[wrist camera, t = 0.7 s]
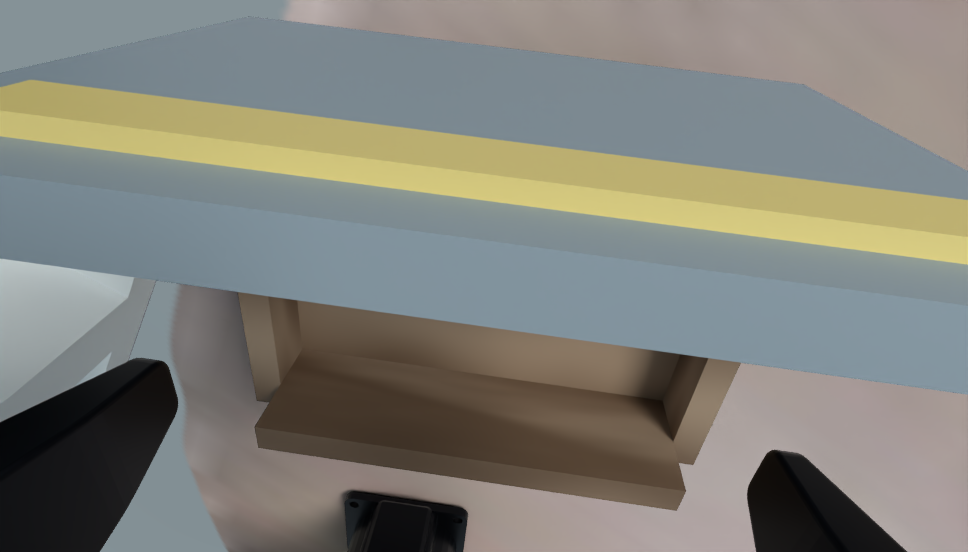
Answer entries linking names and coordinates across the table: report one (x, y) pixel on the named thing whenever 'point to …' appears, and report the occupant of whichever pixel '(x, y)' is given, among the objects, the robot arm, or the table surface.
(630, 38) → the table surface
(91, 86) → the panel
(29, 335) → the cable organizer
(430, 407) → the tray
